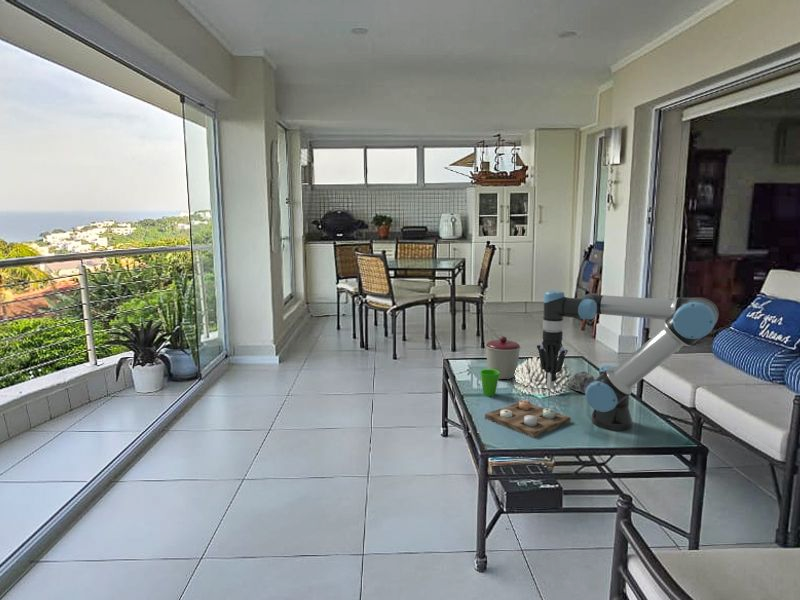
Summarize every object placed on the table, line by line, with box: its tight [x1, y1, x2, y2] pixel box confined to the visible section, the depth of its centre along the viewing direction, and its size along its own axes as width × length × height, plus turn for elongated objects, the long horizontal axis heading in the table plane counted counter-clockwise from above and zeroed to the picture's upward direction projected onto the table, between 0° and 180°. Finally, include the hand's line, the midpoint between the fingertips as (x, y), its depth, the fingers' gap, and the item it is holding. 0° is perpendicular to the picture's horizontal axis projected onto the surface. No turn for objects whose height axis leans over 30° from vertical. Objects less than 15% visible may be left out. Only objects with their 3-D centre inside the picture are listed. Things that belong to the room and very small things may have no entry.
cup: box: [479, 368, 500, 397], centre depth 249 cm, size 9×9×11 cm
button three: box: [518, 399, 532, 412], centre depth 228 cm, size 5×5×3 cm
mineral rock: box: [567, 370, 595, 394], centre depth 256 cm, size 13×11×10 cm
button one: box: [500, 410, 512, 419], centre depth 221 cm, size 5×5×3 cm
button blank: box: [524, 415, 537, 428], centre depth 211 cm, size 5×5×3 cm
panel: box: [484, 401, 571, 438], centre depth 220 cm, size 24×24×2 cm
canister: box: [484, 335, 522, 380], centre depth 275 cm, size 18×18×21 cm
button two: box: [543, 407, 556, 421], centre depth 219 cm, size 5×5×3 cm
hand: (550, 388), depth 217 cm, fingers closed
